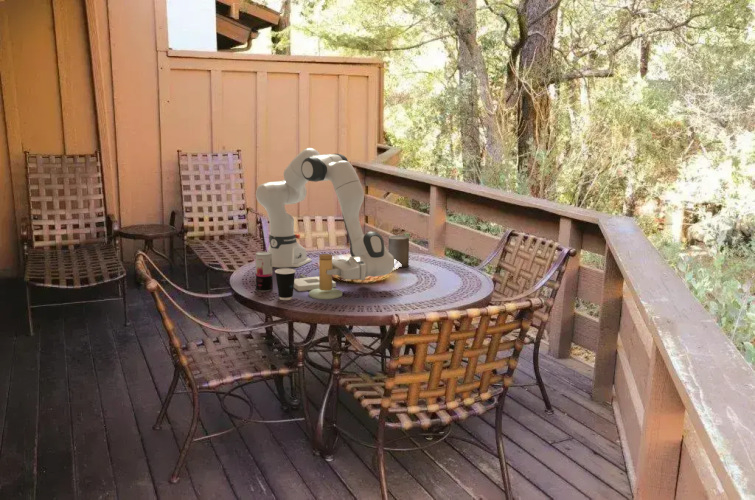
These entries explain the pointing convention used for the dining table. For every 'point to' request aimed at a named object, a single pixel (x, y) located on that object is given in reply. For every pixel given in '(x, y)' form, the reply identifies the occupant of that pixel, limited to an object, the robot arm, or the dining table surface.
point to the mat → (325, 294)
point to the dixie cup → (285, 283)
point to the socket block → (308, 283)
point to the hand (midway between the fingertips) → (323, 270)
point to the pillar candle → (399, 248)
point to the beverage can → (264, 271)
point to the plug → (325, 279)
